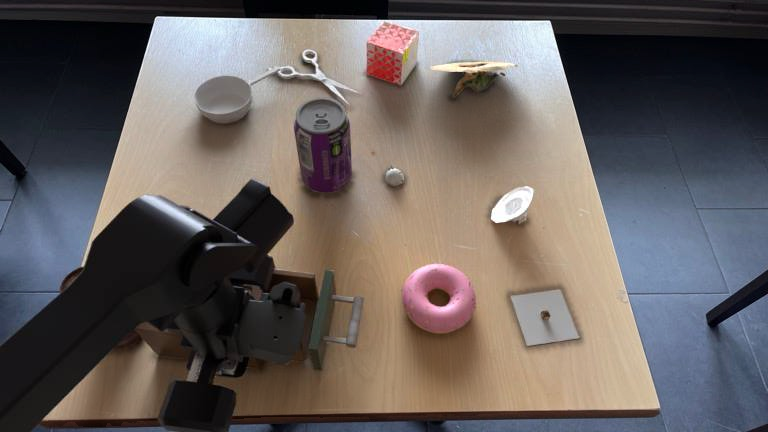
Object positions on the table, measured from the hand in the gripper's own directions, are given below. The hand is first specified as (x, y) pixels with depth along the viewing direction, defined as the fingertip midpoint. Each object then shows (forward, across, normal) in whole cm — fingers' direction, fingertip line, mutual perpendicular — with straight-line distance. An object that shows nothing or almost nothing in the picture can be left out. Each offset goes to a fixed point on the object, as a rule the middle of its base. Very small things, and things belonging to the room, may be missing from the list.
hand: (238, 363), depth 59 cm
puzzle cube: (+13, +70, -10) cm, 72 cm away
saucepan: (+13, +56, +18) cm, 60 cm away
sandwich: (+13, +68, -26) cm, 74 cm away
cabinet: (+13, +10, +8) cm, 18 cm away
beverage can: (+13, +39, -2) cm, 41 cm away
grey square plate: (+13, +17, -39) cm, 45 cm away
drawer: (+12, +10, -3) cm, 16 cm away
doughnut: (+13, +17, -23) cm, 31 cm away
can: (+13, +7, +21) cm, 26 cm away
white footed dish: (+13, +35, -34) cm, 50 cm away
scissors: (+13, +64, +4) cm, 65 cm away
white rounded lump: (+13, +40, -14) cm, 44 cm away
